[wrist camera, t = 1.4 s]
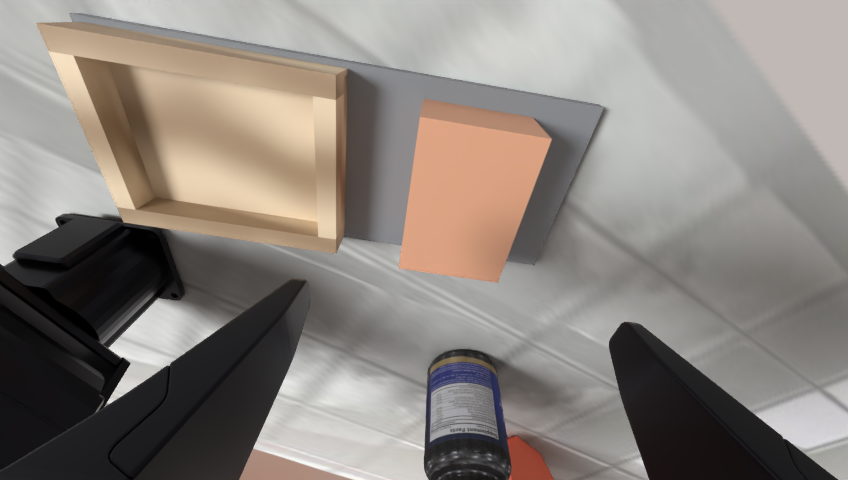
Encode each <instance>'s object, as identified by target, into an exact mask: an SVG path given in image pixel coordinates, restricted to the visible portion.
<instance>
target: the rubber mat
mask: <svg viewBox="0 0 848 480" xmlns="http://www.w3.org/2000/svg"><path fill="white" fill-rule="evenodd" d="M69 14H70V17H71V19H72V22H86V23H91V24H97V25H103V26H109V27H114V28H120V29H126V30H131V31H137V32H143V33H149V34H154V35H160V36H166V37H171V38H177V39H183V40H189V41H194V42H200V43H206V44H211V45H217V46H223V47H229V48H234V49H240V50H246V51H251V52H257V53H263V54H269V55H274V56H280V57H286V58H291V59H297V60H303V61H309V62H314V63H320V64H326V65H331V66H337V67H343V68H348V74H347V133H346V192H345V234H344V237H349V238H355V239H362V240H369V241H376V242H382V243H389V244H396V245H402V240H403V233H404V226H405V219H406V212H407V205H408V198H409V191H410V183H411V176H412V169H413V162H414V155H415V148H416V141H417V133H418V126H419V119H420V114H421V109H422V104H423V99H429V100H435V101H440V102H446V103H452V104H458V105H464V106H470V107H475V108H481V109H487V110H493V111H499V112H504V113H510V114H516V115H522V116H528V117H533V119H534V120H535V121H536V122H537V123H538V124H539V125H540V126H541V127H542V129H543V130H544V131H545V132H546V133H547V134H548V135H549V136H550V138H551V139H552V140H551V143H550V146H549V148H548V151H547V154H546V156H545V159H544V162H543V164H542V167H541V170H540V172H539V175H538V177H537V180H536V183H535V185H534V188H533V191H532V193H531V196H530V199H529V201H528V204H527V207H526V209H525V212H524V215H523V217H522V220H521V223H520V225H519V228H518V231H517V233H516V236H515V238H514V241H513V244H512V246H511V249H510V252H509V254H508V257H507V260H506V261H510V262H517V263H523V264H530V265H534V264H535V262H536V260H537V257H538V255H539V253H540V251H541V248H542V246H543V244H544V242H545V239H546V237H547V235H548V233H549V230H550V228H551V226H552V224H553V221H554V219H555V217H556V215H557V212H558V210H559V208H560V206H561V203H562V201H563V199H564V197H565V194H566V192H567V190H568V188H569V185H570V183H571V181H572V179H573V176H574V174H575V172H576V170H577V167H578V165H579V163H580V161H581V158H582V156H583V154H584V152H585V149H586V147H587V145H588V143H589V140H590V138H591V136H592V134H593V131H594V129H595V127H596V125H597V122H598V120H599V118H600V116H601V113H602V111H603V109H604V107H602V106H601V105H598V104H592V103H587V102H581V101H575V100H570V99H564V98H558V97H552V96H547V95H541V94H535V93H530V92H524V91H518V90H513V89H507V88H501V87H496V86H490V85H484V84H479V83H473V82H467V81H462V80H456V79H450V78H445V77H439V76H433V75H428V74H422V73H416V72H411V71H405V70H399V69H394V68H388V67H382V66H377V65H371V64H365V63H359V62H354V61H348V60H342V59H337V58H331V57H325V56H320V55H314V54H308V53H303V52H297V51H291V50H286V49H280V48H274V47H269V46H263V45H257V44H252V43H246V42H240V41H235V40H229V39H223V38H218V37H212V36H206V35H201V34H195V33H189V32H184V31H178V30H172V29H167V28H161V27H155V26H149V25H144V24H138V23H132V22H127V21H121V20H115V19H110V18H104V17H98V16H93V15H87V14H80V13H69Z"/></svg>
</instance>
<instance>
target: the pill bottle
mask: <svg viewBox="0 0 848 480" xmlns="http://www.w3.org/2000/svg"><path fill="white" fill-rule="evenodd" d="M511 468H512V467H511V458H510V453H509V447H508V441H507V435H506V428H505V422H504V416H503V409H502V403H501V396H500V390H499V384H498V378H497V372H496V369H495V367H494V365H493V363H492V361H491V360H490V359H489V358H487V357H486V356H485V355H483V354H481V353H478V352H472V351H468V350H456V351H449V352H446V353H444V354H441V355H440V356H438V357H437V358H436V359H435V360H434V361H433V362H432V363H431V365H430V367H429V369H428V377H427V400H426V429H425V454H424V469H425V473H426V475H427V477H428V479H429V480H509V478H510V475H511Z"/></svg>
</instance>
